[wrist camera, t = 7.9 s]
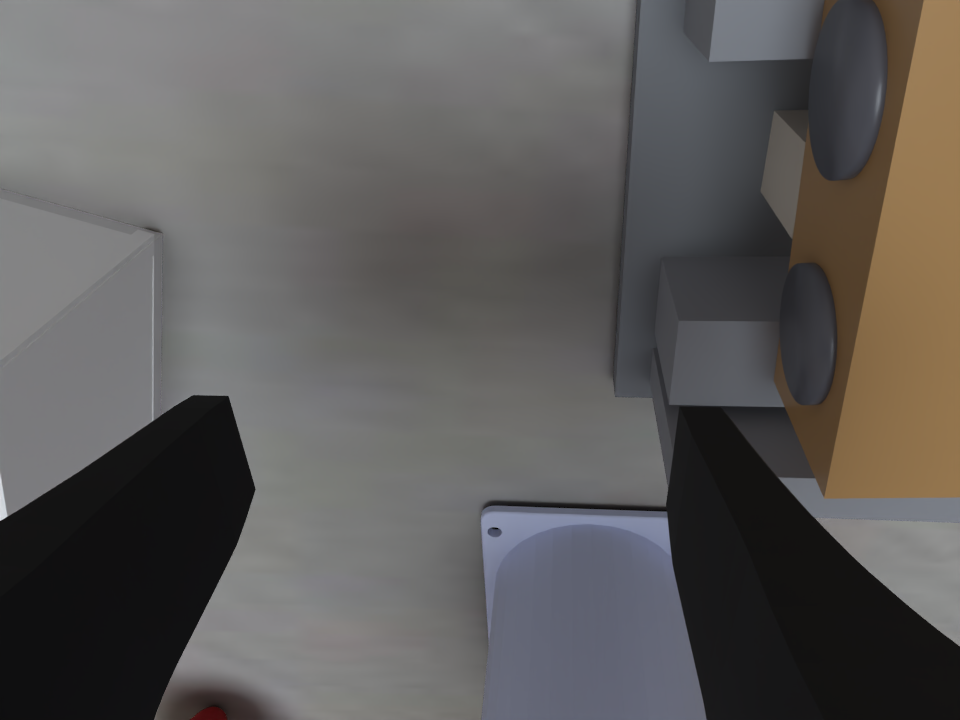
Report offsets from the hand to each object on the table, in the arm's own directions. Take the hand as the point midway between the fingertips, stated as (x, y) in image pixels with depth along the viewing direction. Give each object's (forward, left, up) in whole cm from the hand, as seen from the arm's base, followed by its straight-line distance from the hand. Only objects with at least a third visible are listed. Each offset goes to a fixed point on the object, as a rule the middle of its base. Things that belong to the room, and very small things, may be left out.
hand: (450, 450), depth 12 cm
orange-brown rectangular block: (+2, -8, -6) cm, 10 cm away
